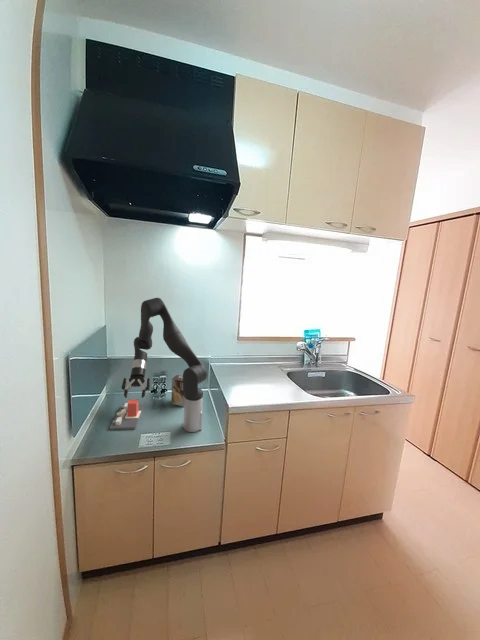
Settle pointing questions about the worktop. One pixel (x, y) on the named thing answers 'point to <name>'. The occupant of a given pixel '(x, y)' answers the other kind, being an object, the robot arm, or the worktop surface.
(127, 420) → the panel
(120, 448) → the worktop surface
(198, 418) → the robot arm
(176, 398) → the coffee box
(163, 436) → the worktop surface
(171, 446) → the worktop surface
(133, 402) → the coral red square block
